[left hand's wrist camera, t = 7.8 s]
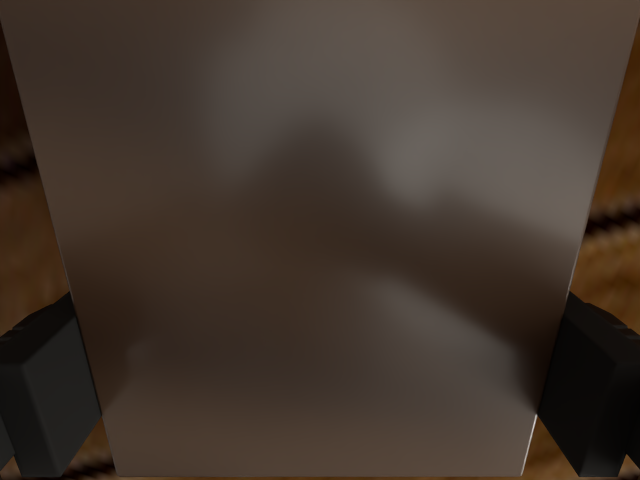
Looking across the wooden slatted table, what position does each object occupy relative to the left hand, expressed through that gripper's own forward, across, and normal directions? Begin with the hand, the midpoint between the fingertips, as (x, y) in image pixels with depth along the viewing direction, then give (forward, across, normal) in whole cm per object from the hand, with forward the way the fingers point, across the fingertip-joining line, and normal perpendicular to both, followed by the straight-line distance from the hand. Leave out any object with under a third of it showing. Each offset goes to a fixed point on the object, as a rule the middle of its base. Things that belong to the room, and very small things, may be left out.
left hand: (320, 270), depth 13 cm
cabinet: (+4, 0, -6) cm, 7 cm away
